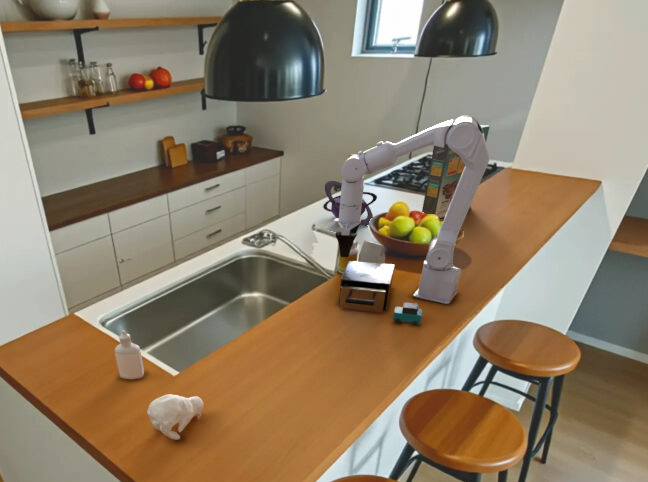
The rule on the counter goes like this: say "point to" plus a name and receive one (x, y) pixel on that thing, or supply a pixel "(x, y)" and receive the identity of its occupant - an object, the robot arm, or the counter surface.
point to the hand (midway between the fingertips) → (346, 251)
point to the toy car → (408, 313)
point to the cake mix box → (443, 178)
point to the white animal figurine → (174, 413)
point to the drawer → (362, 297)
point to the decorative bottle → (336, 200)
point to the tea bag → (372, 253)
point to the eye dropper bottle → (128, 358)
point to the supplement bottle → (348, 258)
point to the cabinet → (369, 275)
